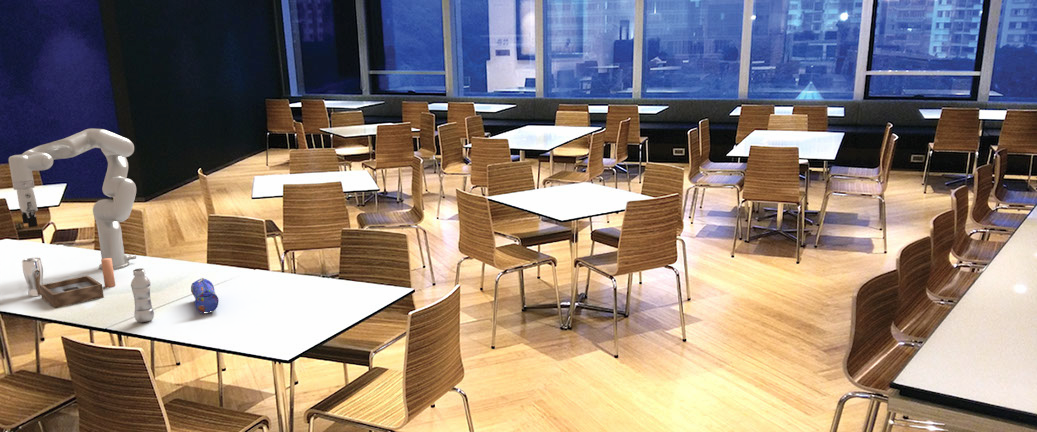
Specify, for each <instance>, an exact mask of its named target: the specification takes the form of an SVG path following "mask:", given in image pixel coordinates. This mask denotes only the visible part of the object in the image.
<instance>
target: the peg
mask: <svg viewBox="0 0 1037 432" xmlns="http://www.w3.org/2000/svg"><path fill="white" fill-rule="evenodd" d="M100 261H101V264H102V269H101V270H102V276H103V281H104V282H103V283H104V287H105V288H107V289H108V288H114V287H115V286H116V281H115V280H116V279H115V272H114V269H113V264H112V258H104V259H102V258H101V259H100Z"/></svg>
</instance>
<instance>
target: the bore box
mask: <svg viewBox="0 0 1037 432" xmlns="http://www.w3.org/2000/svg"><path fill="white" fill-rule="evenodd" d="M40 290H41V297H40V298H41V299H42V300H43V301H45V302H46V303H48V305H50V306H51V307H53V308H54V309H57V308H61V307H66V306H71V305H75V304H79V303H83V302H89V301H94V300H97V299H98V300H99V299H102V298H104V297H105V295H104V288H103V283H100V282H98V281H97V280H95V278H92V277H91V276H89V275H84V276H79V277H74V278H69V279H64V280H59V281H58V280H57V281H55V282H54V281H53V282H49V283H43V285H40Z"/></svg>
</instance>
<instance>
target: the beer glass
mask: <svg viewBox="0 0 1037 432" xmlns="http://www.w3.org/2000/svg"><path fill="white" fill-rule="evenodd" d="M21 263H22V265H21V266H22V273H23V276H24V279H25V282H26V284H27V289H28V292H27V293H28V294H27V295H28V297H31V298H33V297H40V296H41V290H40V285H44V283H43V282H44V269H43V263H42V259H41V257H30V258H24V259H22V261H21Z"/></svg>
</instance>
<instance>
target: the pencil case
mask: <svg viewBox="0 0 1037 432" xmlns="http://www.w3.org/2000/svg"><path fill="white" fill-rule="evenodd" d="M190 292H191V294H192V295H193V297H194V299H195V300H194V306H195V309H196V311H198V312H199V313H201V314H203V313H204V312H210V311H213V312H214V311H215V310H216V309H217V308H218V306H219V301H220V300H219V297H218V295H217V294H216V291H215V287H214V284H213V283H212V282H211V281H210V280H209V279H208V278H207V279H206V278H203V277H202V278H199V279H197V280H196V281H194V282H192V283H191V286H190Z"/></svg>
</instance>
